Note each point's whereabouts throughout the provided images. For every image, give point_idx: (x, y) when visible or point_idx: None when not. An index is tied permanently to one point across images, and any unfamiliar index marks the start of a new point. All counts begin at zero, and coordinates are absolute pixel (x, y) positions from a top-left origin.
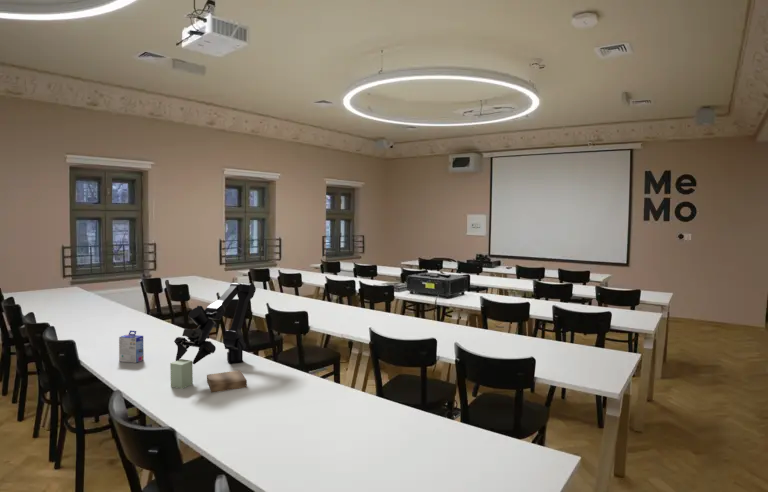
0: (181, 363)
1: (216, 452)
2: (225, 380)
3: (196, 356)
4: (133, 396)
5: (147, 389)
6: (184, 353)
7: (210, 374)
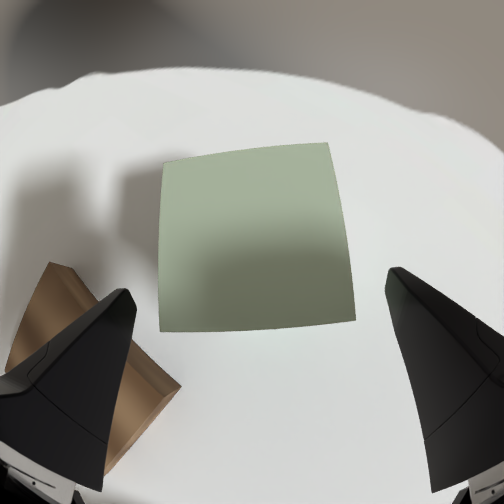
0: (199, 191)
1: (9, 106)
2: (40, 344)
3: (68, 336)
4: (337, 86)
5: (370, 149)
6: (424, 431)
7: (149, 408)
